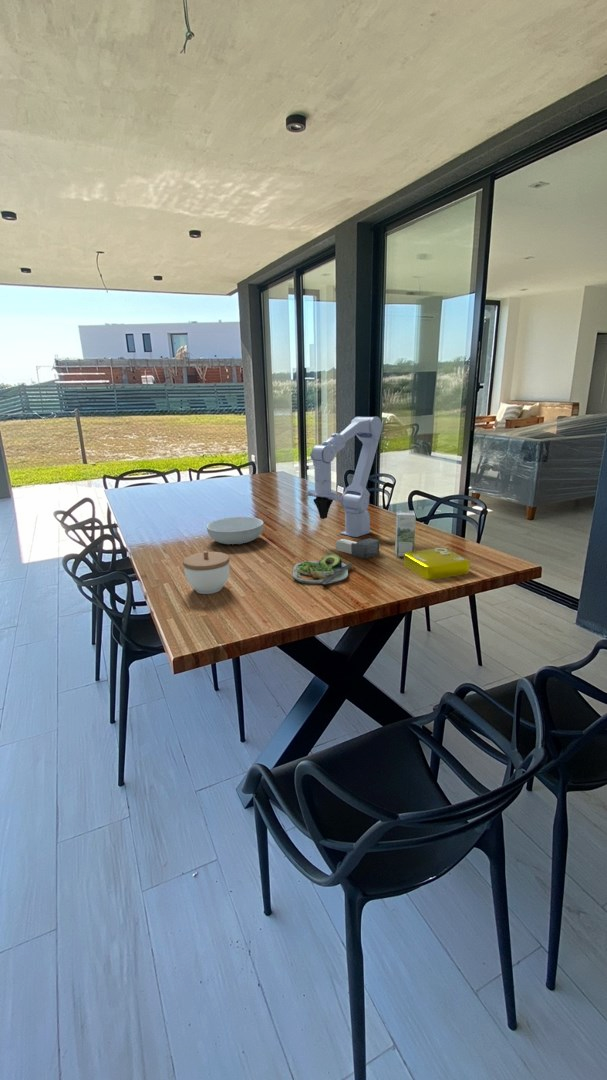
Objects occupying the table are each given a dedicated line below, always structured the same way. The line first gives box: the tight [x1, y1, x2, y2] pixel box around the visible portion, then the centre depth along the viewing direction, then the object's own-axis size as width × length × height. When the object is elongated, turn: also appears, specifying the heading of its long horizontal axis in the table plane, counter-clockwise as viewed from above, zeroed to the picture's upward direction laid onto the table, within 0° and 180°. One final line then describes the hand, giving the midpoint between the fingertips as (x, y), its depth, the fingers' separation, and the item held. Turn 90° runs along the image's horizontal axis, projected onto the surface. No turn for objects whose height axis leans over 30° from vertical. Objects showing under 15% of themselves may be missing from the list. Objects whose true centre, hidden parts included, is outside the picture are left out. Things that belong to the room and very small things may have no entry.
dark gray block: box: [350, 537, 380, 560], centre depth 163 cm, size 7×6×5 cm
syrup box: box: [394, 510, 417, 558], centre depth 160 cm, size 6×6×14 cm
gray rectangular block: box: [335, 538, 357, 555], centre depth 166 cm, size 4×12×4 cm, turn 45°
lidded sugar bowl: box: [182, 550, 230, 595], centre depth 136 cm, size 13×13×11 cm
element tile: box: [403, 547, 471, 581], centre depth 148 cm, size 15×15×5 cm
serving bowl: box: [206, 516, 264, 546], centre depth 182 cm, size 21×21×7 cm
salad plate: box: [292, 554, 353, 585], centre depth 145 cm, size 19×18×5 cm
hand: (323, 518), depth 174 cm, fingers closed
